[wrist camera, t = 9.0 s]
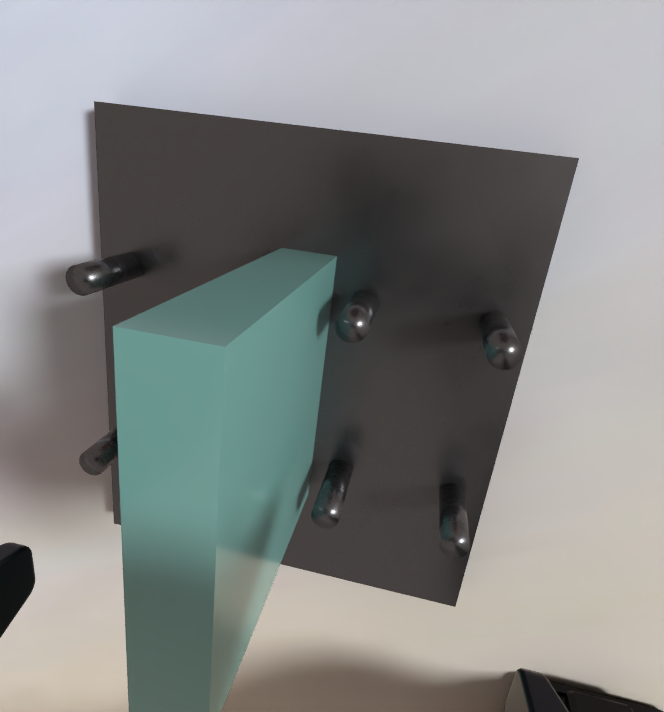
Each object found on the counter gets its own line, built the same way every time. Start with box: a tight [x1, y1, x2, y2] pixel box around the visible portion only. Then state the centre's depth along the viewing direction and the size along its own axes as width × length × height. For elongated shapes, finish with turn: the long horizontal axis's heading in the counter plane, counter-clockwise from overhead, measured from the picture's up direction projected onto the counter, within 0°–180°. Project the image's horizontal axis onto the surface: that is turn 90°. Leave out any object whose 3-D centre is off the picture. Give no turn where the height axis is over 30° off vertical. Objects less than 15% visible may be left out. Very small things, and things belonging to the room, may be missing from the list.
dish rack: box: [66, 101, 579, 606], centre depth 18 cm, size 18×16×4 cm
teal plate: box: [113, 248, 337, 712], centre depth 15 cm, size 10×2×10 cm, turn 173°
